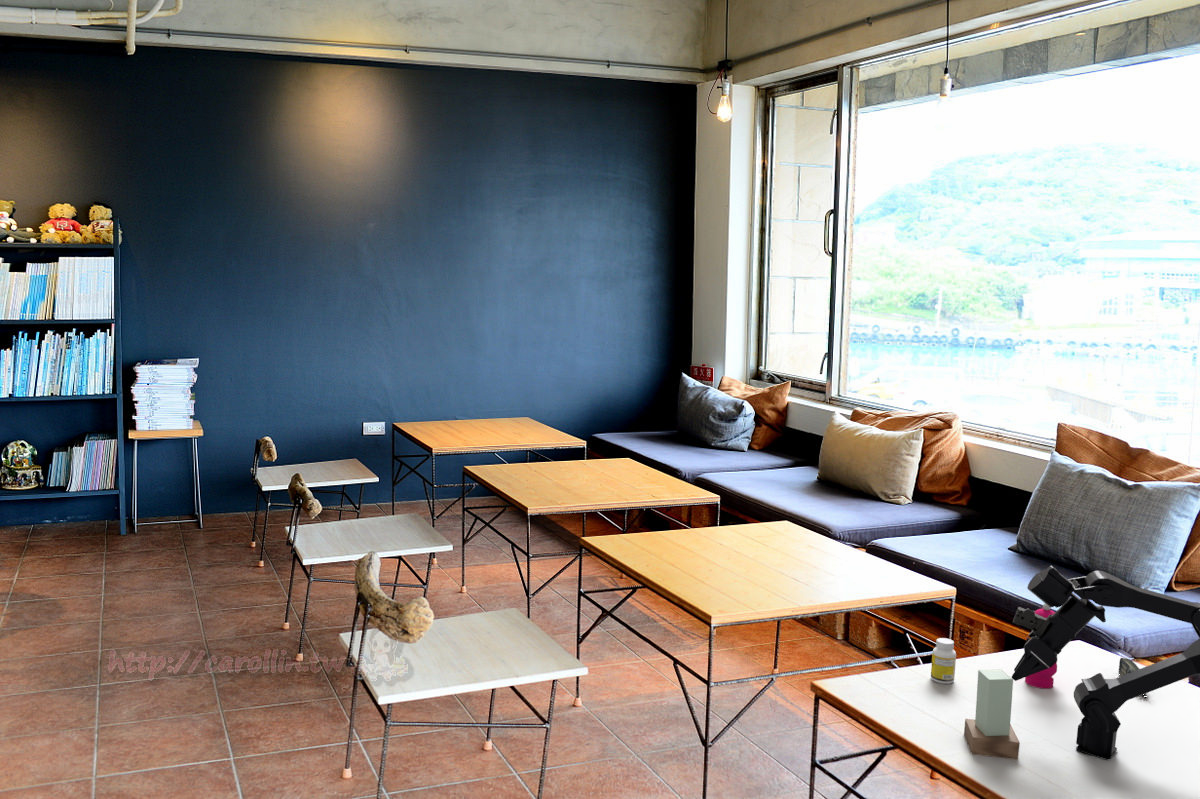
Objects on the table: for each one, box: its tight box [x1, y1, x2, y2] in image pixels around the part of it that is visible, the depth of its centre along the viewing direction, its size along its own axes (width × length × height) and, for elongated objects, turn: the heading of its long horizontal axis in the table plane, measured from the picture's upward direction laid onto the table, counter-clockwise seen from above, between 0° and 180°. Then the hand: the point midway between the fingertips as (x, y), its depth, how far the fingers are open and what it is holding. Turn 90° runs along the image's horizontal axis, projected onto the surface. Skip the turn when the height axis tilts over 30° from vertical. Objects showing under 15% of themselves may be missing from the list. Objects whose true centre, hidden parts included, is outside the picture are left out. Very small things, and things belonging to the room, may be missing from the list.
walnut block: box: [963, 718, 1021, 760], centre depth 214 cm, size 9×9×4 cm
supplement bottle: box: [930, 637, 957, 685], centre depth 249 cm, size 5×5×10 cm
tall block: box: [974, 669, 1014, 736], centre depth 213 cm, size 5×5×12 cm
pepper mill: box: [1024, 603, 1058, 690], centre depth 248 cm, size 7×7×20 cm
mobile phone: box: [1117, 657, 1148, 697], centre depth 251 cm, size 5×3×15 cm
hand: (1014, 675), depth 217 cm, fingers open, 9 cm apart
